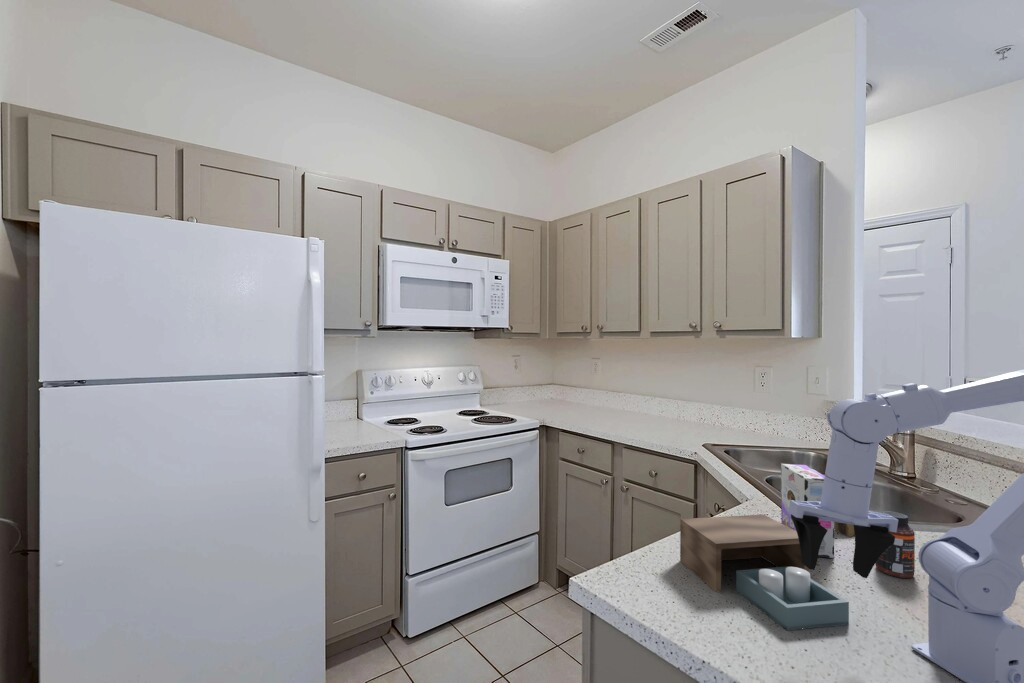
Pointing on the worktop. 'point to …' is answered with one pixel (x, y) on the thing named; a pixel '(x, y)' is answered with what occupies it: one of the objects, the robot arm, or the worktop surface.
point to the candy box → (804, 499)
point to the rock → (844, 528)
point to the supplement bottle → (899, 550)
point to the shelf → (735, 544)
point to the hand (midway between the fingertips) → (834, 570)
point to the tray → (792, 611)
